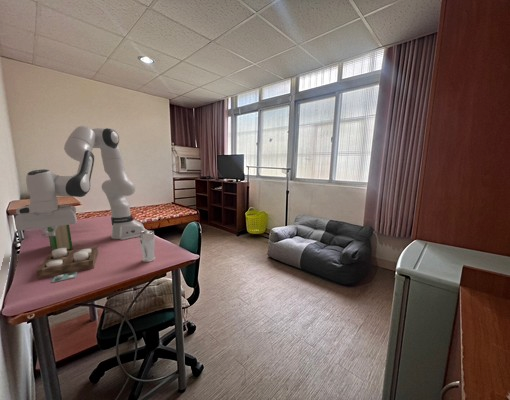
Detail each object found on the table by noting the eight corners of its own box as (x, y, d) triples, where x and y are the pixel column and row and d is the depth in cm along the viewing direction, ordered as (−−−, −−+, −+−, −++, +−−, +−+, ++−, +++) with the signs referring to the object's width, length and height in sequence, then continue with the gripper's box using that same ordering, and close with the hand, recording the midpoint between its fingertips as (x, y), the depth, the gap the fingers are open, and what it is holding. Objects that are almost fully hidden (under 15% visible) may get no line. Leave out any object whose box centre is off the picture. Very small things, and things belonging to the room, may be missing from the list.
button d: (64, 265, 107) (63, 258, 106) (61, 270, 102) (60, 263, 101) (49, 268, 104) (48, 261, 103) (45, 273, 99) (44, 266, 99)
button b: (68, 253, 115) (67, 247, 114) (66, 257, 110) (65, 250, 109) (54, 255, 112) (53, 249, 111) (51, 259, 107) (50, 253, 107)
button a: (92, 253, 120) (91, 247, 120) (91, 257, 115) (90, 251, 115) (79, 255, 117) (78, 249, 117) (77, 259, 113) (77, 253, 112)
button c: (89, 256, 111) (88, 249, 111) (87, 260, 106) (87, 253, 106) (75, 258, 108) (74, 252, 108) (73, 263, 104) (72, 256, 103)
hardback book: (72, 249, 129) (66, 209, 124) (56, 253, 123) (49, 211, 119) (66, 242, 140) (60, 205, 136) (50, 245, 134) (43, 207, 130)
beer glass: (140, 263, 111) (137, 235, 109) (143, 257, 118) (140, 230, 115) (155, 261, 113) (152, 233, 111) (157, 256, 120) (155, 229, 117)
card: (77, 272, 102) (77, 271, 102) (75, 277, 97) (75, 276, 97) (55, 276, 99) (55, 275, 98) (51, 282, 93) (51, 281, 93)
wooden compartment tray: (98, 253, 123) (97, 246, 123) (93, 268, 106) (92, 260, 106) (51, 261, 113) (49, 254, 113) (38, 279, 96) (36, 270, 96)
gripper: (76, 202, 106) (80, 230, 108) (16, 207, 95) (23, 238, 98) (73, 205, 100) (78, 234, 103) (10, 210, 90) (17, 242, 93)
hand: (50, 236), depth 100 cm, fingers closed
